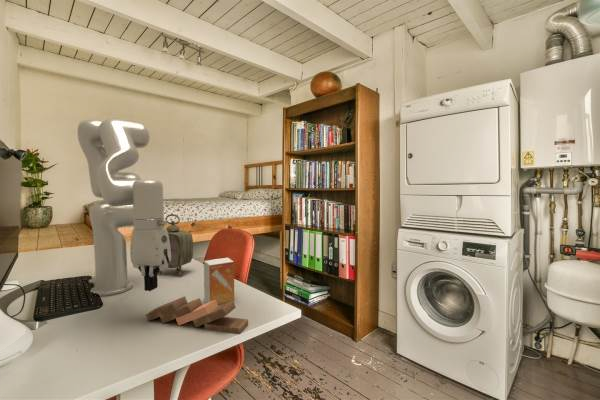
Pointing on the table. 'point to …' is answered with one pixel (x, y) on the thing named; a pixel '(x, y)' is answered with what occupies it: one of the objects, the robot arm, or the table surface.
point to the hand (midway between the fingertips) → (151, 289)
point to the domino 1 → (166, 308)
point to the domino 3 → (198, 312)
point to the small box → (219, 280)
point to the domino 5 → (227, 325)
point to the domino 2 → (182, 310)
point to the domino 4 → (215, 314)
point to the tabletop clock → (179, 246)
